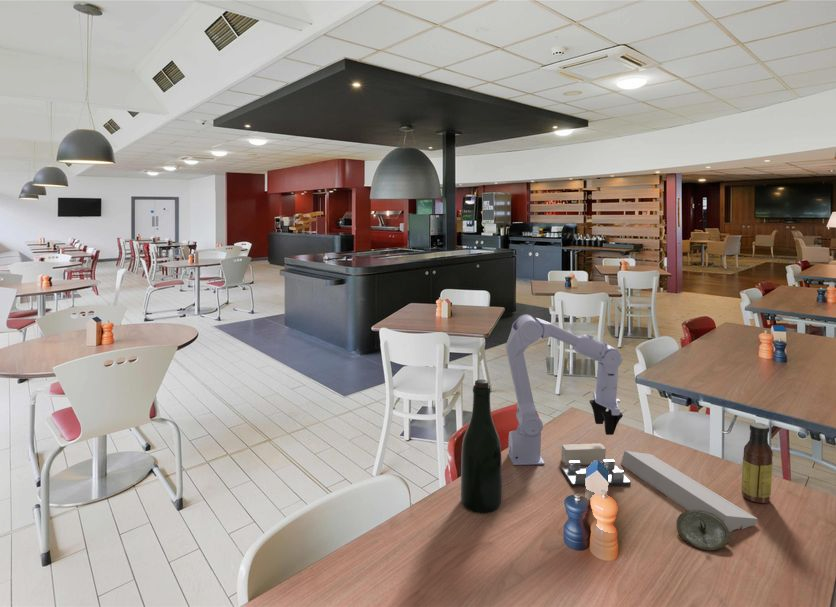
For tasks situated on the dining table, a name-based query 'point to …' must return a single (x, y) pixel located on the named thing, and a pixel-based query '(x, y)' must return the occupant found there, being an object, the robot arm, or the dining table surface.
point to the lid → (702, 530)
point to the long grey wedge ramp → (685, 490)
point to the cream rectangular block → (583, 453)
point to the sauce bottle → (757, 465)
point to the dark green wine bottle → (481, 456)
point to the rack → (578, 474)
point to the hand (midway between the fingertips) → (604, 428)
